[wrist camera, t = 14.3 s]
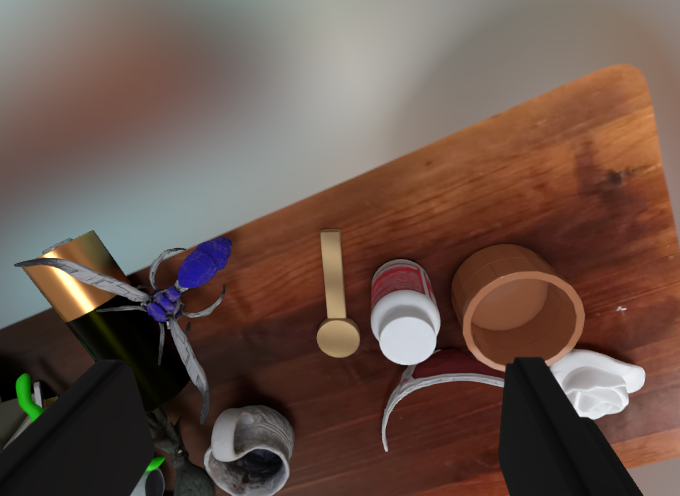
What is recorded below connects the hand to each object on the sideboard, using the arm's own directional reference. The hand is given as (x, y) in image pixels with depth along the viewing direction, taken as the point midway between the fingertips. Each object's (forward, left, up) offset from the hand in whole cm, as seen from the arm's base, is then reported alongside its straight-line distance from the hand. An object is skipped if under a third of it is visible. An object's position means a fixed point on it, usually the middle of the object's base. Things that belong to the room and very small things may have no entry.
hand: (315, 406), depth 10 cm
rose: (+24, +24, -32) cm, 47 cm away
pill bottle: (+12, +3, -32) cm, 35 cm away
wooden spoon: (+12, -4, -32) cm, 35 cm away
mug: (+29, -15, -32) cm, 46 cm away
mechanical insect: (+9, -17, -33) cm, 38 cm away
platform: (+29, -46, -27) cm, 61 cm away
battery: (+24, -24, -29) cm, 44 cm away
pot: (+13, +14, -32) cm, 38 cm away
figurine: (+24, -31, -31) cm, 50 cm away
